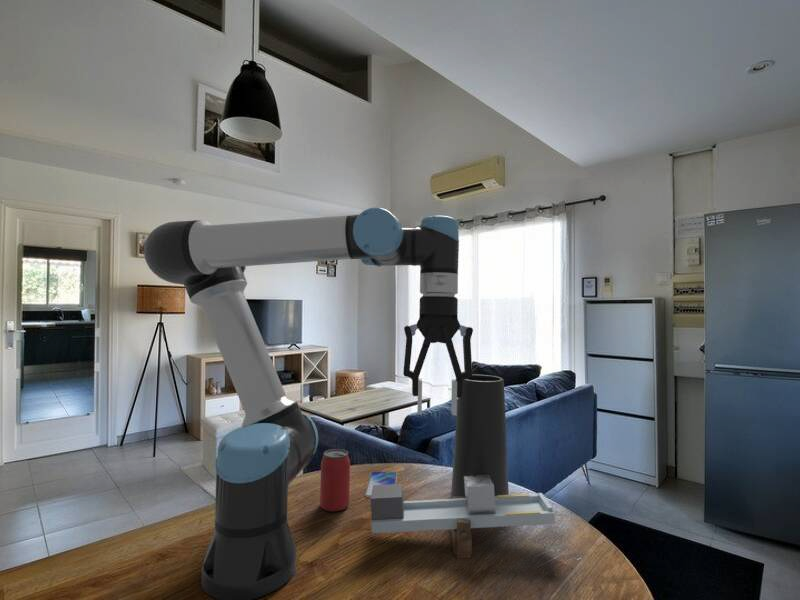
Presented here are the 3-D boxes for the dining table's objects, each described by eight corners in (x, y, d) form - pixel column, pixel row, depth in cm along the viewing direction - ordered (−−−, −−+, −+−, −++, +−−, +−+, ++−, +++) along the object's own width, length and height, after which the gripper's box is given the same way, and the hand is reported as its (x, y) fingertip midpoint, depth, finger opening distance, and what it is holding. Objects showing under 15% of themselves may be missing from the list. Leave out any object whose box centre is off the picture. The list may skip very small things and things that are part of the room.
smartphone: (364, 496, 98) (371, 471, 113) (364, 499, 98) (371, 474, 113) (394, 496, 98) (397, 471, 113) (394, 500, 98) (397, 474, 113)
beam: (371, 533, 77) (369, 500, 77) (375, 512, 84) (373, 483, 85) (554, 523, 76) (552, 491, 76) (541, 503, 84) (539, 474, 84)
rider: (469, 518, 78) (467, 486, 78) (465, 506, 83) (463, 476, 83) (496, 517, 78) (493, 485, 78) (490, 505, 83) (488, 474, 83)
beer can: (343, 514, 90) (344, 459, 90) (315, 511, 91) (316, 456, 91) (352, 500, 96) (354, 449, 97) (326, 497, 98) (327, 447, 98)
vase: (499, 518, 90) (501, 385, 90) (442, 502, 96) (444, 378, 97) (515, 494, 101) (516, 376, 102) (463, 481, 108) (465, 371, 109)
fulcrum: (455, 559, 74) (455, 524, 74) (449, 525, 86) (449, 494, 86) (473, 560, 74) (473, 524, 74) (464, 526, 86) (464, 495, 86)
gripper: (389, 294, 78) (387, 416, 77) (490, 296, 77) (488, 419, 77) (391, 295, 85) (389, 407, 85) (483, 297, 85) (481, 409, 84)
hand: (436, 412), depth 81 cm, fingers open, 6 cm apart
